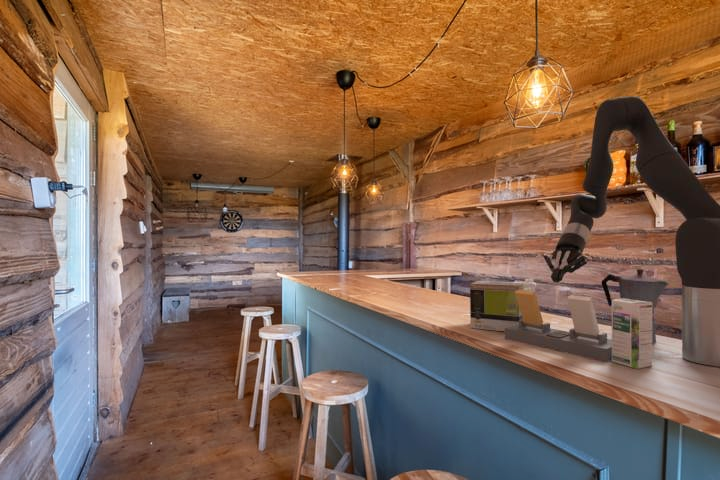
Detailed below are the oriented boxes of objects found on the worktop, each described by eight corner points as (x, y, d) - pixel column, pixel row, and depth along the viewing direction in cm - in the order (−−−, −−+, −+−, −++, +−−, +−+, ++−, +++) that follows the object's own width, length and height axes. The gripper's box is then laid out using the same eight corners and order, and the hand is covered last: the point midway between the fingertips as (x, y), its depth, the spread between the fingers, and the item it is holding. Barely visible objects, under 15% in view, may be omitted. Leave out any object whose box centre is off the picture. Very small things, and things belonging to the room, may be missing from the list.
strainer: (541, 324, 125) (541, 279, 125) (525, 326, 122) (525, 280, 122) (524, 320, 131) (523, 277, 131) (509, 322, 128) (508, 278, 128)
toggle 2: (601, 337, 93) (592, 297, 90) (598, 341, 92) (589, 300, 89) (578, 333, 97) (569, 295, 94) (576, 337, 96) (566, 298, 93)
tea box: (525, 327, 121) (524, 282, 121) (519, 334, 112) (519, 285, 112) (477, 322, 129) (477, 279, 129) (469, 328, 120) (469, 282, 120)
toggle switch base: (623, 353, 92) (623, 332, 92) (606, 361, 86) (606, 339, 86) (523, 333, 113) (523, 316, 113) (504, 338, 107) (504, 320, 107)
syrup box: (610, 361, 87) (609, 299, 87) (627, 358, 89) (627, 297, 89) (636, 369, 81) (635, 303, 81) (654, 366, 83) (653, 301, 83)
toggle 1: (545, 327, 104) (535, 291, 101) (542, 330, 103) (532, 294, 100) (527, 324, 108) (517, 289, 105) (524, 327, 107) (514, 292, 104)
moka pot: (670, 348, 96) (670, 271, 96) (600, 339, 106) (599, 268, 106) (668, 340, 104) (668, 268, 104) (603, 332, 113) (602, 266, 113)
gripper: (548, 232, 124) (529, 271, 116) (591, 231, 113) (574, 273, 106) (556, 248, 127) (538, 287, 120) (599, 248, 116) (582, 290, 109)
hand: (555, 280), depth 113 cm, fingers closed
